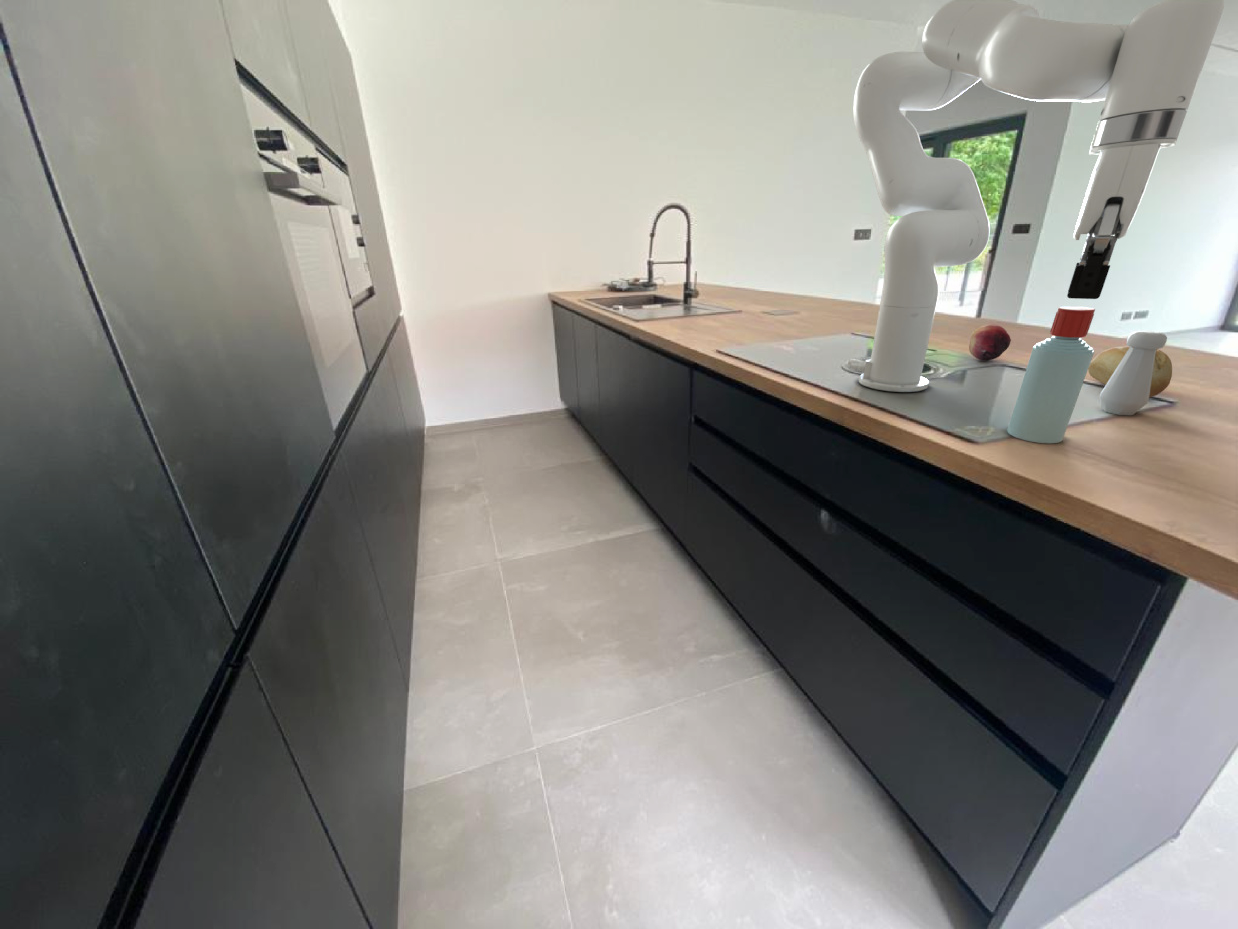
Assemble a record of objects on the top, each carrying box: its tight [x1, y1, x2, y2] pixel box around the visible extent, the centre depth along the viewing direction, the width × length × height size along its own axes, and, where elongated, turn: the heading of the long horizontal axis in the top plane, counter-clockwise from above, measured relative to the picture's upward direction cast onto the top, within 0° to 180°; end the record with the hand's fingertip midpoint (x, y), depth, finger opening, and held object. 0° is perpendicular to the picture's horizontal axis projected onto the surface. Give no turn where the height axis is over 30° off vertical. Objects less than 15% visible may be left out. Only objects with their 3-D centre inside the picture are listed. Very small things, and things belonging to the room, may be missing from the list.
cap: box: [1049, 305, 1096, 338], centre depth 68 cm, size 4×4×4 cm
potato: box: [1087, 345, 1173, 398], centre depth 92 cm, size 10×15×8 cm, turn 166°
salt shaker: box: [1099, 330, 1168, 416], centre depth 80 cm, size 6×6×13 cm
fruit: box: [968, 324, 1012, 362], centre depth 115 cm, size 8×8×8 cm
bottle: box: [1007, 335, 1095, 444], centre depth 72 cm, size 7×7×18 cm
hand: (1082, 294), depth 67 cm, fingers open, 5 cm apart
